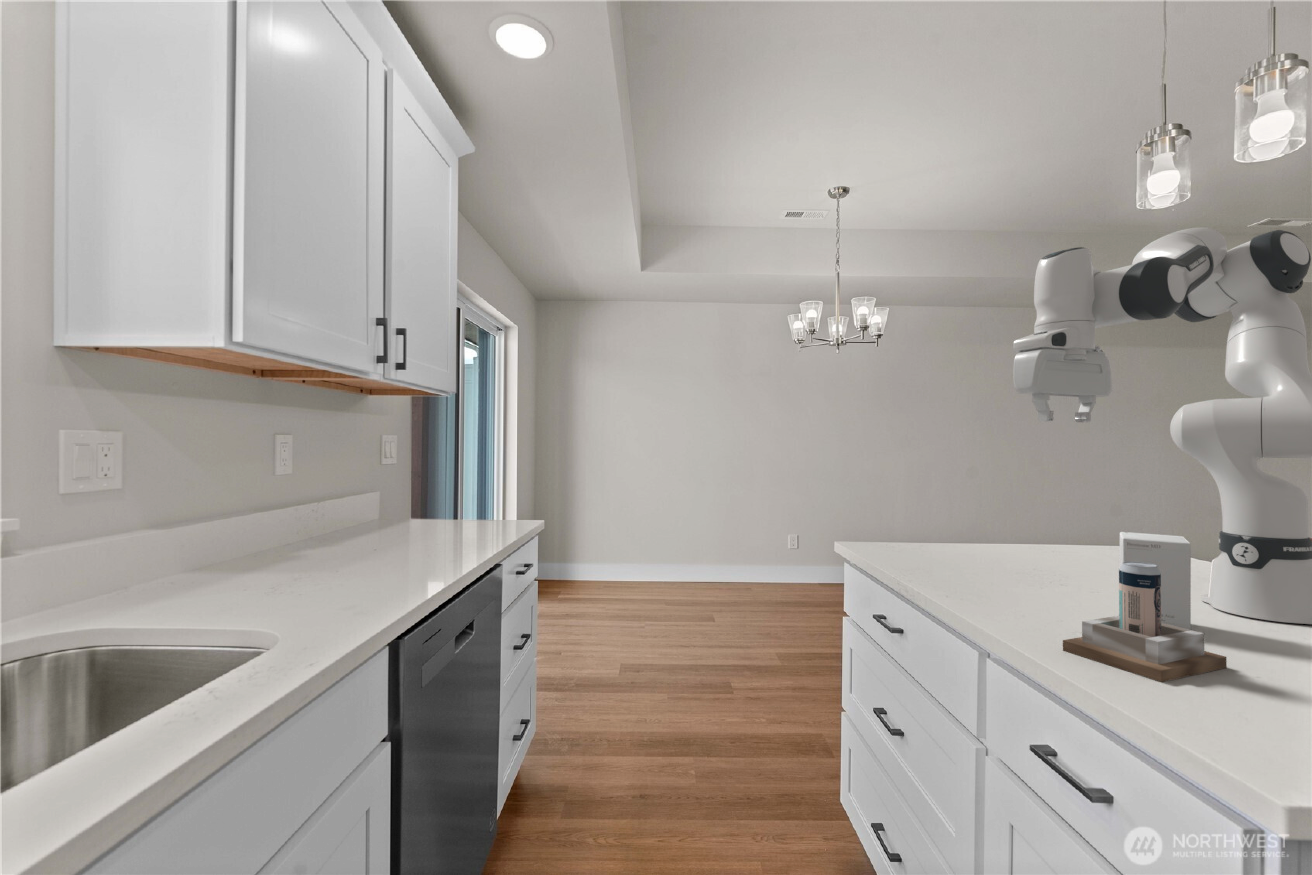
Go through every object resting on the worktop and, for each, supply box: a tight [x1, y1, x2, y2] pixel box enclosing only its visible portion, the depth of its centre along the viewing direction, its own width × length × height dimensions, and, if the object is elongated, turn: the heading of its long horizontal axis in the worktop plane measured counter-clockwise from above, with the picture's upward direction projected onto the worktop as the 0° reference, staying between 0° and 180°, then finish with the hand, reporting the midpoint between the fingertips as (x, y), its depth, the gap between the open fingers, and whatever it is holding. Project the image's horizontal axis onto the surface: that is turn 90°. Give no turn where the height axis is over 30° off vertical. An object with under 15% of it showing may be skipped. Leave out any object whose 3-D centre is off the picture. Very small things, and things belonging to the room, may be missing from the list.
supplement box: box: [1118, 531, 1192, 630], centre depth 104 cm, size 9×9×15 cm
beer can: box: [1118, 561, 1161, 637], centre depth 88 cm, size 5×5×12 cm
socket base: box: [1062, 615, 1228, 683], centre depth 88 cm, size 14×13×4 cm
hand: (1064, 421), depth 106 cm, fingers open, 8 cm apart
